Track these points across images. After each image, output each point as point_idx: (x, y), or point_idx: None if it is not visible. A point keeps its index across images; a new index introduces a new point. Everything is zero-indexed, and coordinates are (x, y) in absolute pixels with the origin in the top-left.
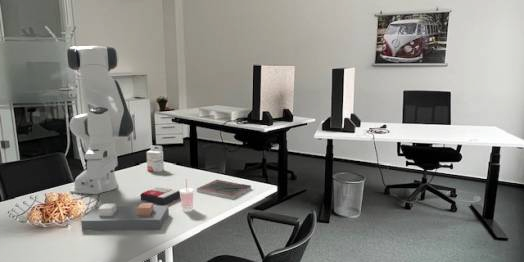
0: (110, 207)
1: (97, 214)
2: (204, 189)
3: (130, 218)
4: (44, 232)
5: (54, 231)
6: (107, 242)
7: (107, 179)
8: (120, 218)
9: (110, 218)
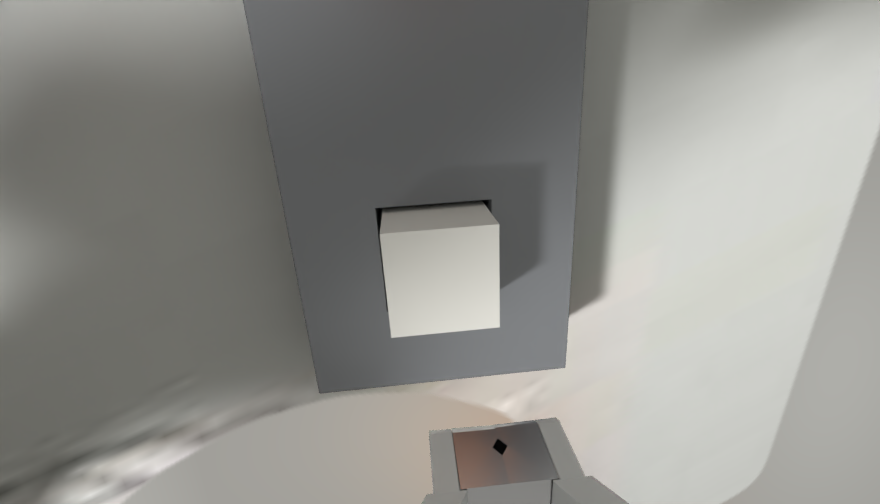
0: (476, 241)
1: None
2: None
3: (552, 10)
4: None
5: None
6: (720, 110)
7: (494, 489)
8: (547, 107)
9: (540, 192)
